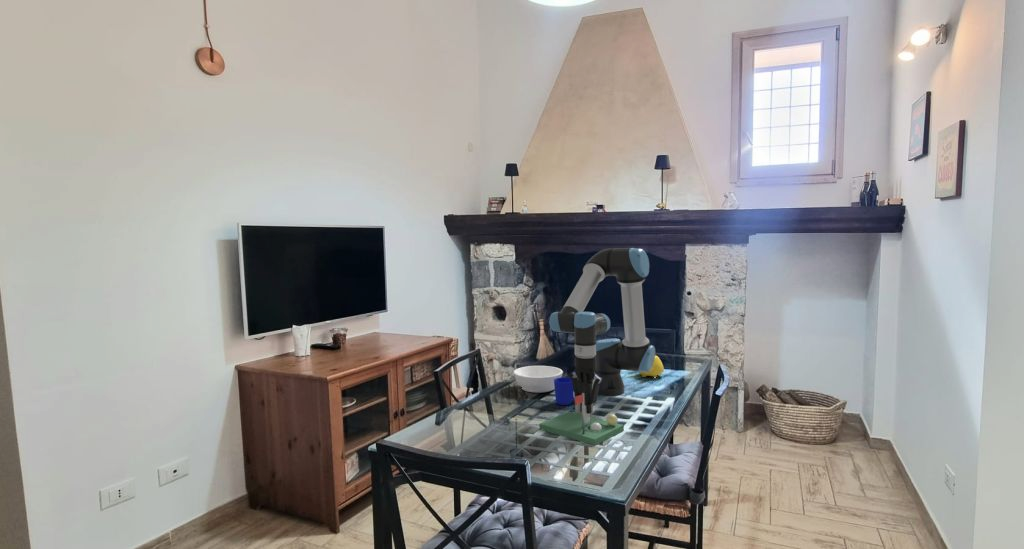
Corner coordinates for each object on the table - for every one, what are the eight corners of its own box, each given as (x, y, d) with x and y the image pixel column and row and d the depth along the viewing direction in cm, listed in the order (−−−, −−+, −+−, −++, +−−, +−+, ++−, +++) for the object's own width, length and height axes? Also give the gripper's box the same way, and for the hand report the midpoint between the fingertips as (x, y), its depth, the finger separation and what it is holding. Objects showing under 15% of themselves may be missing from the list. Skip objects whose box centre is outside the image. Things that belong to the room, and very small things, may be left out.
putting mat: (569, 416, 210) (569, 411, 210) (623, 430, 194) (623, 425, 194) (539, 429, 197) (539, 423, 197) (595, 445, 180) (595, 439, 180)
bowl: (563, 383, 259) (562, 365, 259) (562, 396, 237) (562, 377, 236) (516, 382, 261) (515, 365, 261) (511, 396, 239) (511, 377, 238)
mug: (582, 407, 221) (582, 383, 220) (553, 406, 223) (552, 382, 223) (584, 401, 229) (583, 377, 228) (555, 400, 231) (555, 377, 231)
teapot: (634, 370, 281) (634, 348, 280) (664, 372, 276) (664, 349, 275) (630, 380, 262) (630, 356, 261) (662, 382, 257) (662, 358, 256)
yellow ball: (610, 422, 196) (610, 411, 196) (619, 425, 193) (619, 414, 193) (604, 425, 193) (603, 414, 193) (613, 428, 191) (613, 416, 190)
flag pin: (583, 432, 186) (582, 392, 185) (585, 433, 186) (584, 393, 185) (574, 437, 183) (574, 396, 182) (576, 437, 182) (576, 396, 181)
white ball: (590, 423, 194) (601, 422, 193) (591, 435, 192) (603, 434, 191) (589, 422, 190) (600, 421, 189) (590, 434, 189) (601, 433, 188)
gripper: (564, 355, 194) (564, 420, 195) (594, 360, 185) (595, 428, 186) (576, 352, 199) (577, 415, 201) (606, 356, 190) (607, 422, 192)
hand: (585, 421), depth 193 cm, fingers closed
